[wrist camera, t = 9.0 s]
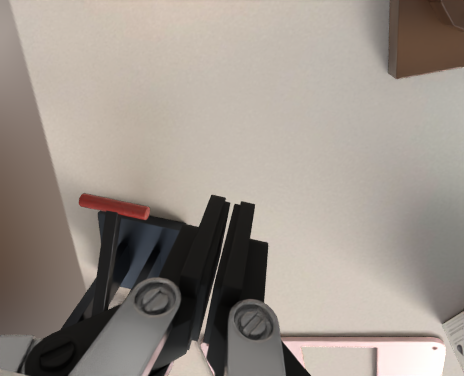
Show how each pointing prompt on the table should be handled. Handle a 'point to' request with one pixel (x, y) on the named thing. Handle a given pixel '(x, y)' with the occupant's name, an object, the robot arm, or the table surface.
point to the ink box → (456, 336)
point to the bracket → (132, 257)
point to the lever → (109, 241)
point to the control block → (425, 37)
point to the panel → (380, 352)
